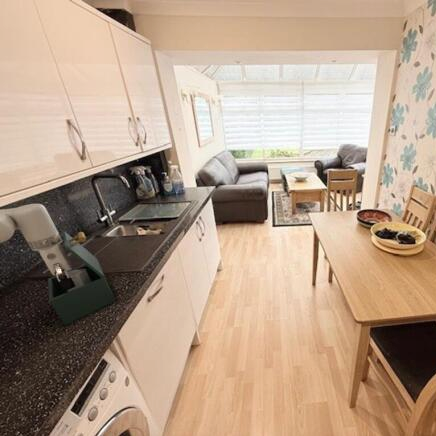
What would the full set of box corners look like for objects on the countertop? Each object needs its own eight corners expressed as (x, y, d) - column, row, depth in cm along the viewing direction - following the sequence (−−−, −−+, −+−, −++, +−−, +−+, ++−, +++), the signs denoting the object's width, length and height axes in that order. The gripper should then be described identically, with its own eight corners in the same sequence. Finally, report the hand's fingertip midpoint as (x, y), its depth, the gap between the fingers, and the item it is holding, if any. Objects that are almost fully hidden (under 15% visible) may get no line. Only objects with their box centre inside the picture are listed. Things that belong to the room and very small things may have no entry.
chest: (65, 325, 81) (49, 301, 76) (62, 300, 92) (47, 278, 88) (115, 300, 90) (104, 278, 86) (107, 281, 101) (96, 260, 97)
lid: (65, 248, 76) (82, 238, 78) (62, 232, 87) (76, 224, 89) (102, 277, 85) (116, 268, 87) (95, 260, 96) (107, 251, 99)
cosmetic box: (74, 304, 89) (58, 278, 83) (81, 296, 93) (66, 271, 87) (92, 301, 90) (78, 275, 84) (98, 292, 94) (85, 268, 88)
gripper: (62, 245, 75) (84, 288, 82) (59, 229, 86) (79, 267, 93) (29, 255, 70) (56, 299, 77) (30, 237, 82) (53, 277, 89)
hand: (68, 282), depth 85 cm, fingers open, 9 cm apart
